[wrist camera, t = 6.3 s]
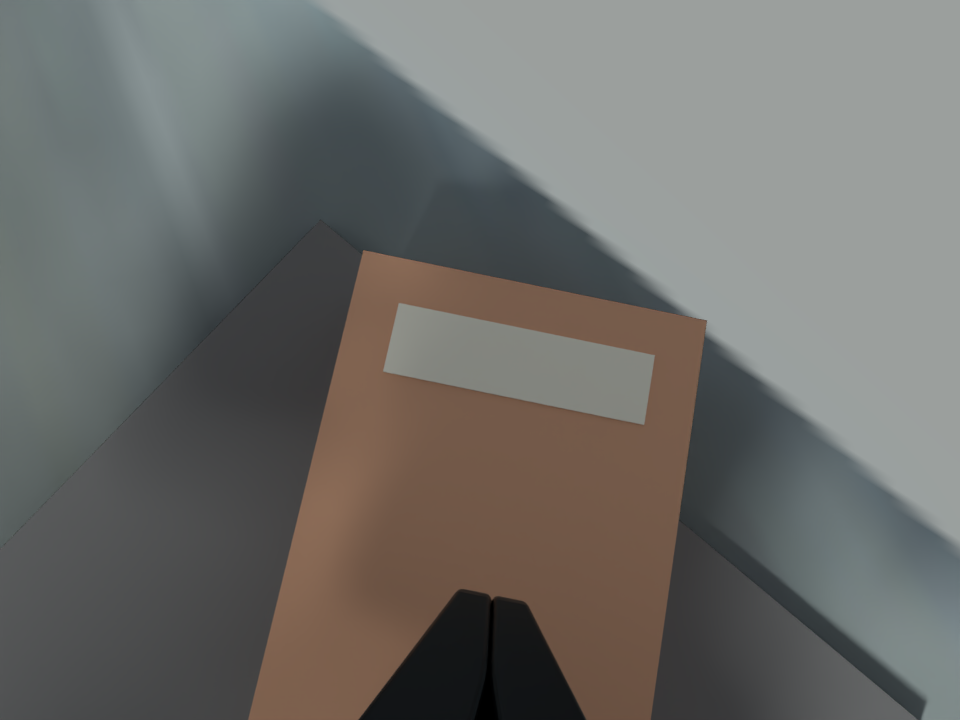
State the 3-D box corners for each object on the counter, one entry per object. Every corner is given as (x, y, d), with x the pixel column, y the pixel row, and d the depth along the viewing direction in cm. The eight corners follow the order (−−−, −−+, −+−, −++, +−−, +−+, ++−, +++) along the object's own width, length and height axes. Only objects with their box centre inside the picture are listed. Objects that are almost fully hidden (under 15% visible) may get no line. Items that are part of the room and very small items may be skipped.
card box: (625, 903, 11) (707, 320, 13) (222, 821, 11) (363, 249, 13) (587, 822, 14) (658, 357, 16) (269, 758, 14) (378, 300, 16)
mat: (919, 728, 15) (935, 734, 15) (539, 1318, 13) (543, 1348, 12) (324, 228, 17) (320, 219, 16) (-107, 673, 15) (-126, 678, 14)
